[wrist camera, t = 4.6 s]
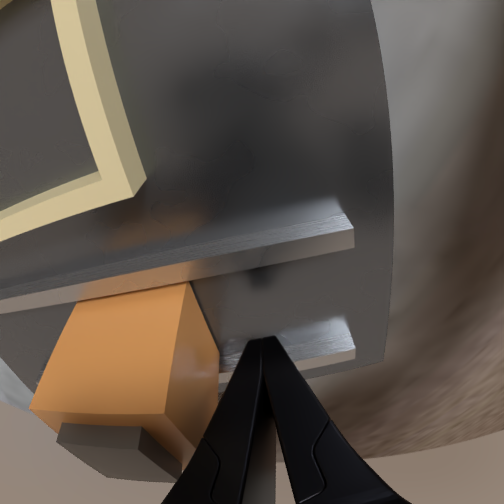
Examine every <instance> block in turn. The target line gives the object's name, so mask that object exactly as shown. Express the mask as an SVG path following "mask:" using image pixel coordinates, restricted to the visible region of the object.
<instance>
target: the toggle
mask: <svg viewBox="0 0 504 504" xmlns="http://www.w3.org/2000/svg"><path fill="white" fill-rule="evenodd" d="M219 356H220V353H219V351H218V349H217V347H216V344H215V342H214V340H213V338H212V335H211V333H210V331H209V328H208V326H207V324H206V321H205V319H204V317H203V314H202V312H201V310H200V307H199V305H198V303H197V300H196V298H195V295H194V293H193V290H192V288H191V286H190V283H189V281H184V282H179V283H174V284H168V285H163V286H158V287H152V288H147V289H141V290H136V291H130V292H125V293H119V294H114V295H108V296H102V297H97V298H91V299H85V300H80V301H78V302H77V304H76V305H75V307H74V309H73V311H72V313H71V315H70V317H69V319H68V321H67V323H66V325H65V327H64V329H63V331H62V333H61V335H60V337H59V339H58V342H57V344H56V346H55V348H54V350H53V352H52V355H51V357H50V359H49V361H48V363H47V366H46V368H45V370H44V373H43V375H42V377H41V380H40V382H39V384H38V387H37V389H36V392H35V394H34V397H33V399H32V402H31V404H30V407H29V409H30V410H31V411H32V412H33V413H34V414H35V415H37V416H38V417H39V418H40V419H41V420H42V421H43V422H44V423H46V424H47V425H48V426H49V427H50V428H51V429H53V430H54V431H55V432H56V433H58V437H57V441H56V442H57V443H59V444H60V445H61V446H62V447H64V448H65V449H66V450H68V451H69V452H70V453H72V454H73V455H75V456H76V457H77V458H79V459H80V460H82V461H83V462H84V463H86V464H87V465H89V466H90V467H92V468H93V469H95V470H96V471H98V472H99V473H101V474H102V475H104V476H106V477H108V478H117V479H125V480H137V481H149V482H168V483H176V482H177V480H178V479H179V477H180V476H181V474H182V470H184V469H185V468H186V466H187V465H188V463H189V461H190V459H191V458H192V456H193V454H194V452H195V450H196V448H197V446H198V444H199V442H200V440H201V438H204V437H203V434H204V432H205V430H206V428H207V426H208V424H209V422H210V420H211V418H212V416H213V414H214V412H215V410H216V408H217V406H218V383H219Z"/></svg>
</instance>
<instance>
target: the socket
mask: <svg viewBox="0 0 504 504" xmlns="http://www.w3.org/2000/svg"><path fill="white" fill-rule="evenodd" d="M11 1H12V0H0V9H2V8H3V7H4V6H6V5H7V4H8V3H10V2H11ZM51 5H52V10H53V15H54V20H55V25H56V29H57V34H58V38H59V42H60V47H61V51H62V55H63V59H64V63H65V67H66V70H67V74H68V78H69V81H70V85H71V88H72V92H73V95H74V99H75V102H76V105H77V109H78V112H79V115H80V118H81V121H82V124H83V127H84V130H85V133H86V136H87V139H88V142H89V145H90V148H91V151H92V154H93V157H94V159H95V162H96V165H97V168H98V170H99V171H97V172H94V173H92V174H89V175H86V176H83V177H81V178H78V179H75V180H73V181H70V182H68V183H65V184H62V185H60V186H57V187H55V188H52V189H50V190H48V191H45V192H43V193H40V194H38V195H36V196H33V197H31V198H29V199H26V200H24V201H22V202H20V203H17V204H15V205H13V206H11V207H9V208H7V209H4V210H2V211H0V241H3V240H6V239H8V238H11V237H13V236H16V235H19V234H21V233H24V232H27V231H29V230H32V229H35V228H38V227H40V226H43V225H46V224H49V223H52V222H55V221H58V220H61V219H63V218H66V217H69V216H72V215H75V214H79V213H82V212H85V211H88V210H91V209H94V208H97V207H101V206H104V205H107V204H110V203H114V202H117V201H120V200H124V199H127V198H131V197H134V195H135V194H136V193H137V191H138V190H139V189H140V187H141V186H142V184H143V183H144V182H145V180H146V179H147V178H146V175H145V172H144V169H143V166H142V163H141V160H140V157H139V154H138V151H137V148H136V145H135V142H134V139H133V136H132V133H131V129H130V126H129V123H128V120H127V117H126V113H125V110H124V107H123V103H122V100H121V97H120V93H119V90H118V86H117V83H116V79H115V76H114V72H113V68H112V65H111V61H110V57H109V53H108V50H107V46H106V42H105V38H104V34H103V30H102V25H101V21H100V17H99V13H98V8H97V4H96V0H51Z"/></svg>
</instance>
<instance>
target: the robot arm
mask: <svg viewBox="0 0 504 504" xmlns="http://www.w3.org/2000/svg"><path fill="white" fill-rule="evenodd" d="M276 429H277V433H278V437H279V441H280V445H281V449H282V453H283V457H284V461H285V465H286V468H287V472H288V476H289V480H290V483H291V488H292V492H293V495H294V499H295V502H296V504H412V503H410V502H408V501H407V500H405V499H404V498H402V497H401V496H400V495H399V494H397V493H396V492H395V491H393V489H392V488H391V487H390V486H389V485H388V484H386V483H385V481H383V480H382V479H381V477H379V475H378V474H377V473H376V472H375V471H374V470H373V469H372V468H371V467H370V466H369V465H368V464H367V463H366V462H365V461H364V460H363V459H362V458H361V457H360V456H359V455H358V453H357V452H356V451H355V450H354V449H353V448H352V447H351V445H350V444H349V443H348V442H347V440H346V439H345V438H344V436H343V435H342V434H341V432H340V431H339V430H338V428H337V427H336V425H335V424H334V422H333V421H332V420H331V418H330V417H329V415H328V414H327V412H326V411H325V409H324V408H323V406H322V405H321V403H320V402H319V400H318V399H317V397H316V396H315V394H314V393H313V391H312V390H311V388H310V387H309V385H308V384H307V382H306V381H305V379H304V378H303V376H302V375H301V373H300V372H299V370H298V369H297V367H296V366H295V364H294V363H293V361H292V359H291V358H290V356H289V355H288V353H287V352H286V350H285V349H284V347H283V346H282V344H281V343H280V341H279V340H278V338H277V337H276V336H275V335H273V336H267V337H263V338H256V339H251V340H249V341H248V342H247V344H246V346H245V348H244V350H243V352H242V355H241V357H240V359H239V361H238V363H237V365H236V368H235V370H234V372H233V374H232V376H231V378H230V380H229V382H228V385H227V387H226V389H225V391H224V393H223V395H222V397H221V399H220V401H219V403H218V406H217V408H216V410H215V412H214V414H213V416H212V418H211V420H210V422H209V424H208V426H207V428H206V430H205V432H204V434H203V437H204V438H201V440H200V442H199V444H198V446H197V448H196V450H195V452H194V454H193V456H192V458H191V459H190V461H189V463H188V465H187V466H186V468H185V469H184V471H183V473H182V474H181V476H180V477H179V479H178V480H177V482H176V483H175V485H174V486H173V487H172V489H171V490H170V492H169V493H168V495H167V496H166V497H165V499H164V500H163V502H162V503H161V504H275V488H276V485H275V484H276V481H275V480H276V478H275V477H276Z"/></svg>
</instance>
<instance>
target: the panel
mask: <svg viewBox="0 0 504 504" xmlns="http://www.w3.org/2000/svg"><path fill="white" fill-rule="evenodd" d="M96 4H97V8H98V13H99V17H100V21H101V25H102V30H103V34H104V38H105V42H106V46H107V50H108V53H109V57H110V61H111V65H112V68H113V72H114V76H115V79H116V83H117V86H118V90H119V93H120V97H121V100H122V103H123V107H124V110H125V113H126V117H127V120H128V123H129V126H130V129H131V133H132V136H133V139H134V142H135V145H136V148H137V151H138V154H139V157H140V160H141V163H142V166H143V169H144V172H145V175H146V178H147V179H146V180H145V182H144V183H143V184H142V186H141V187H140V189H139V190H138V191H137V193H136V194H135V195H134V197H131V198H127V199H124V200H120V201H117V202H114V203H110V204H107V205H104V206H101V207H97V208H94V209H91V210H88V211H85V212H82V213H79V214H75V215H72V216H69V217H66V218H63V219H61V220H58V221H55V222H52V223H49V224H46V225H43V226H40V227H38V228H35V229H32V230H29V231H27V232H24V233H21V234H19V235H16V236H13V237H11V238H8V239H6V240H3V241H0V357H1V358H2V359H3V361H4V362H5V363H6V364H7V365H8V366H9V367H10V369H11V370H12V371H13V372H14V373H15V374H16V375H17V376H18V377H19V379H20V380H21V381H22V382H23V383H24V384H25V385H26V386H27V387H28V388H29V389H30V390H31V391H32V392H33V393H34V394H35V392H36V389H37V387H38V384H39V382H40V380H41V377H42V375H43V373H44V370H45V368H46V366H47V363H48V361H49V359H50V357H51V355H52V352H53V350H54V348H55V346H56V344H57V342H58V339H59V337H60V335H61V333H62V331H63V329H64V327H65V325H66V323H67V321H68V319H69V317H70V315H71V313H72V311H73V309H74V307H75V305H76V304H77V302H78V301H80V300H85V299H91V298H97V297H102V296H108V295H114V294H119V293H125V292H130V291H136V290H141V289H147V288H152V287H158V286H163V285H168V284H174V283H179V282H184V281H189V283H190V286H191V288H192V290H193V293H194V295H195V298H196V300H197V303H198V305H199V307H200V310H201V312H202V314H203V317H204V319H205V321H206V324H207V326H208V328H209V331H210V333H211V335H212V338H213V340H214V342H215V344H216V347H217V349H218V351H219V353H220V356H219V383H218V393H219V392H224V391H225V389H226V387H227V385H228V382H229V380H230V378H231V376H232V374H233V372H234V370H235V368H236V365H237V363H238V361H239V359H240V357H241V355H242V352H243V350H244V348H245V346H246V344H247V342H248V341H249V340H251V339H256V338H263V337H267V336H273V335H275V336H276V337H277V338H278V340H279V341H280V343H281V344H282V346H283V347H284V349H285V350H286V352H287V353H288V355H289V356H290V358H291V359H292V361H293V363H294V364H295V366H296V367H297V369H298V370H299V372H300V373H301V375H302V376H303V378H304V379H309V378H314V377H319V376H324V375H328V374H333V373H338V372H342V371H346V370H350V369H355V368H359V367H363V366H367V365H370V364H374V363H378V362H382V361H383V359H384V352H385V344H386V336H387V327H388V317H389V307H390V295H391V281H392V264H393V235H394V191H393V162H392V145H391V131H390V120H389V109H388V100H387V92H386V84H385V76H384V70H383V63H382V57H381V51H380V45H379V39H378V34H377V29H376V24H375V19H374V14H373V10H372V5H371V1H370V0H96ZM97 171H99V170H98V168H97V165H96V162H95V159H94V157H93V154H92V151H91V148H90V145H89V142H88V139H87V136H86V133H85V130H84V127H83V124H82V121H81V118H80V115H79V112H78V109H77V105H76V102H75V99H74V95H73V92H72V88H71V85H70V81H69V78H68V74H67V70H66V67H65V63H64V59H63V55H62V51H61V47H60V42H59V38H58V34H57V29H56V25H55V20H54V15H53V10H52V5H51V0H12V1H11V2H10V3H8V4H7V5H6V6H4V7H3V8H2V9H0V211H2V210H4V209H7V208H9V207H11V206H13V205H15V204H17V203H20V202H22V201H24V200H26V199H29V198H31V197H33V196H36V195H38V194H40V193H43V192H45V191H48V190H50V189H52V188H55V187H57V186H60V185H62V184H65V183H68V182H70V181H73V180H75V179H78V178H81V177H83V176H86V175H89V174H92V173H94V172H97Z"/></svg>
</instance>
